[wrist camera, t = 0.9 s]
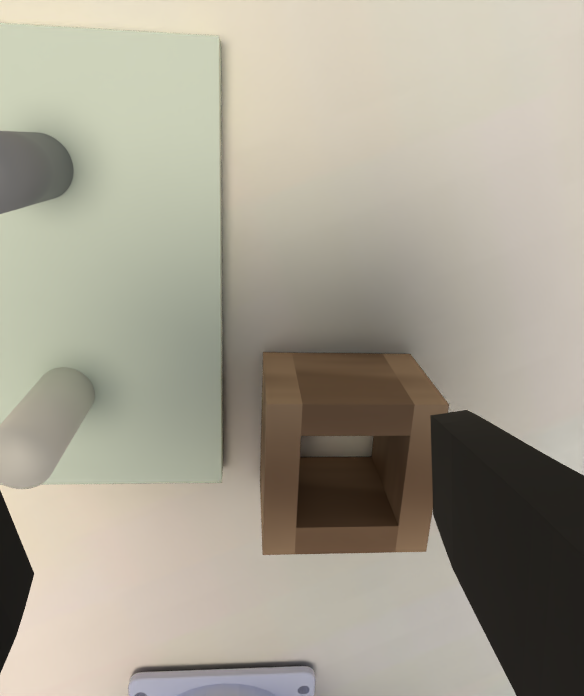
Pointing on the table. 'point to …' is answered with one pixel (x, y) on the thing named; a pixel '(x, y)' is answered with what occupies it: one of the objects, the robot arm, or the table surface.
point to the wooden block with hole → (346, 472)
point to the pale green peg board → (110, 257)
